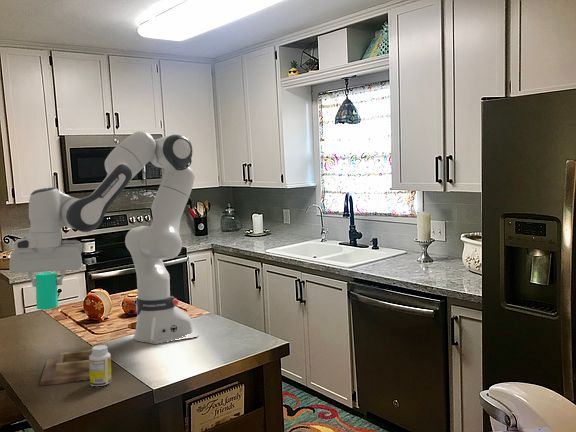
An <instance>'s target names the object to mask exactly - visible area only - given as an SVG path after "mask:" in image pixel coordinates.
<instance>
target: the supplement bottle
mask: <svg viewBox="0 0 576 432" xmlns="http://www.w3.org/2000/svg"><path fill="white" fill-rule="evenodd" d="M91 350H92V354H91V355H90V356H89V371H90V380H89V384H90V386H91V387H93V386H103V385H106V384H108V383H110V382H111V383H112V357H111V352H109V351H108V345H107V344H106V345H105V344H99V345H94V346H93V347H91ZM111 383H110V384H111Z"/></svg>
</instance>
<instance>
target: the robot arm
mask: <svg viewBox="0 0 576 432" xmlns="http://www.w3.org/2000/svg"><path fill="white" fill-rule="evenodd" d="M192 157H193V146H192V143H191V140H190V139H189V138H187V137H186V136H184V135H181V134H171V135H165V136H162V137H160V138H156V139H155V138H153V136H152V135H151V134H150V133H148V132H145V131H144V130H138V131H135V132H134V133H132V134H130V135H129V136H127V137H126V138H124V139H123V140H122V141H121V142H119V143H118V145H116V146H115V147H114V148H113V149H112V150H111V151H110V153H109V154H108V155H107V157H106V159H105V160H104V169H105V172H106V176H105V178H104V179H103V180H102V182H100V184H99V185H98V186H97V187H96V188H95V190H94V191H93V192H92V193H91V194H90V195H88V196H86V197H82V198H79V197H78V198H77V197H73V196H71V195H69V194H66V193H65V192H64V193H63V192H62V191H60V190H59V189H58V188H57V187H46V188H45V187H44V188H40V189H36V190H33V191H32V192H31V193H30V196H29V201H28V219H29V221H30V227H29V235H28V236H25V237H22V238H20V239H19V238H18V239H17V240H14V242H13V243H12V246H13V250H12V251H11V253H10V257H9V268H8V269H9V271H10V272H11V274H20V273H21V274H24V273H27V277H28V278H29V280H30V281H31V283H32V285H31V286H32V288H34V287H35V288H36V278H35V277H34V274H35V273H45V272H60V278H57V286H63V279H64V277H65V275H66V273H67V271H76V270H81V269H82V268H83V259H82V253H83V247H84V246H83V243H82V242H81V241H79V240H77V239H70V240H69V239H62V228H64V227H65V228H70V229H73V230H76V231H79V232H82V233H88V232H93V231H94V230H96V229H98V227H100V225H101V224H102V222H103V221H104V217H105V215H106V213H107V210H108V209H109V207H110V206H111V205H112V203H113V202H114V201H116V199H117V198H118V197H119V195H120V194H121V193H122V192H123V191H124V189H125V188H126V187H127V186H128V184H129V183H130V181H131V180H133V179H134V178H135V176H136V175H137V174H139V173H140V172H141V171H142V169H143V168H144V167H145V166H146V165H147V164H148V165H149V166H151V167H153V168H156V169H163V178H162V181H161V182H160V185H159V186H158V190H157V192H156V194H155V197H154V199H153V202H152V204H151V211H152V222H151V225H150V226H148V225H140V226H136V227H134V228H131V229H130V230H128V232H127V233H126V235H125V240H124V243H125V247H126V248H127V249H126V250H128V251H129V253H130V255H131V259H132V262H133V265H134V269H135V273H136V287H137V288H136V289H137V297H136V299H135V300H136V301H135V308H136V309H135V311H136V312H135V313H136V314H137V317H136V325H135V330H134V334H133V340H135V341H138V342H141V343H148V344H149V343H150V344H153V345H159V344H158V343H161V344H164V343H163V342H167V341H171V340H175V339H179V338H183V337H186V336H185V335H187V334H191V333H192V332H193V326H194V325H193V322H192V318H191V317H190V315H189V314H188V313H187V312H185V311H184V310H182V309H181V308H179V307H178V306H177V305H178V304H179V300H178V298H176V297H174V296H173V295H171V289H170V288H171V285H170V281H171V280H170V279H171V277H170V276H171V275H170V273H169V271H168V270H167V268H166V266H165V264H164V261H166V260H171V259H174V258H176V257H178V255H180V254H181V251H182V248H183V241H182V237H181V235H180V226H181V221H182V217H183V214H184V211H185V209H186V206H187V203H188V201H189V198H190V195H191V193H192V190H193V186H194V181H195V172H194V171H193V169H192V168H191V167H190V166H191V165H192V163H193V162H192V161H193V160H192ZM182 336H183V337H182ZM167 343H168V342H167Z"/></svg>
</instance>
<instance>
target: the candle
mask: <svg viewBox="0 0 576 432" xmlns="http://www.w3.org/2000/svg"><path fill="white" fill-rule="evenodd" d="M57 279H58V274H57V272H51V271H44V272H38V273H37V274H35V280H36V287H35V297H36V309H37V310H41V311H42V310H52V309H56V308H58V307H59V299H58V297H59V296H58V285H57Z"/></svg>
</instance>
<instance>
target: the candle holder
mask: <svg viewBox="0 0 576 432" xmlns="http://www.w3.org/2000/svg"><path fill="white" fill-rule="evenodd" d="M91 354H92V349H86V350H74V351H66V352H65V351H64V352H59V353H58V355H57V358H49V359H46V362H45V363H46V364H45V366H44V369H43V372H42V374H41V379H40V383H39V384H40V387H41V386H49V385H57V384H67V383H74V382H73V381H76V382H80V381H79V380H84V381H86V380H85V379H90V371H89V356H90V355H91Z"/></svg>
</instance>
